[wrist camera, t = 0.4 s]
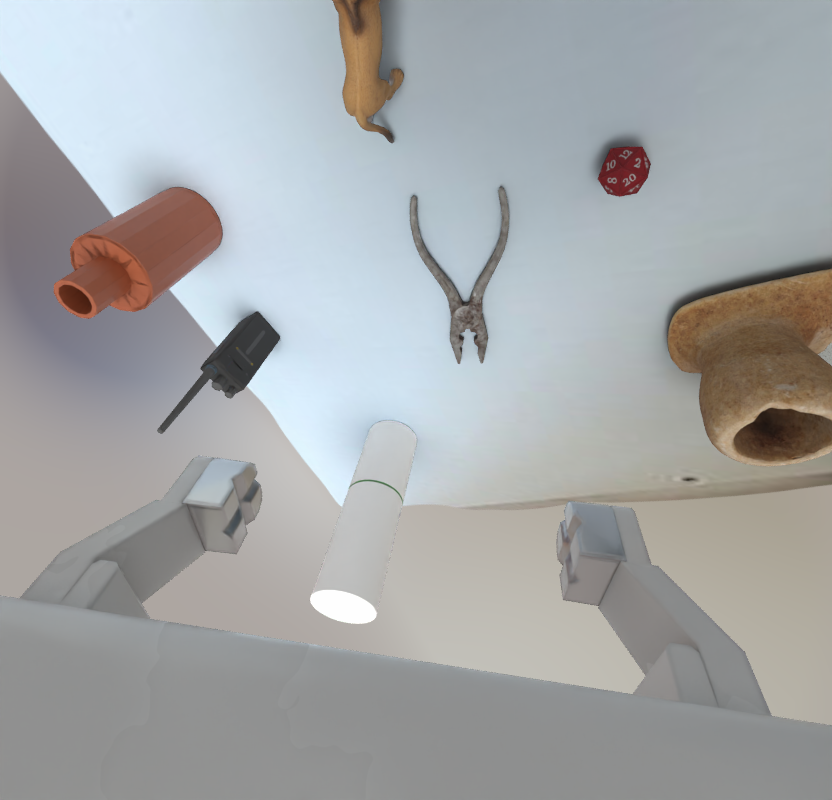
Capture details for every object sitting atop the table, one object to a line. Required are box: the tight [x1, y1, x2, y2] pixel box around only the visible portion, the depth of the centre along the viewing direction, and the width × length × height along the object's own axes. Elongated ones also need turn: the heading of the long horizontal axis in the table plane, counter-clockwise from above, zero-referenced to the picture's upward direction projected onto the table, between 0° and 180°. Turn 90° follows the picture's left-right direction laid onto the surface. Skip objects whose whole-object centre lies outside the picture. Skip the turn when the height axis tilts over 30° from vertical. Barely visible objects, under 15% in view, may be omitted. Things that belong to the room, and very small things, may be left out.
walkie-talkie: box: [157, 312, 280, 434], centre depth 51 cm, size 5×3×20 cm
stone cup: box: [667, 269, 832, 466], centre depth 42 cm, size 15×12×15 cm
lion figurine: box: [332, 0, 404, 143], centre depth 34 cm, size 15×5×9 cm, turn 12°
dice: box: [598, 146, 651, 197], centre depth 39 cm, size 4×4×4 cm
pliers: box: [410, 187, 509, 364], centre depth 49 cm, size 10×1×20 cm
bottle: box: [54, 187, 222, 319], centre depth 44 cm, size 7×7×18 cm
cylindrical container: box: [310, 420, 417, 624], centre depth 58 cm, size 7×7×25 cm
